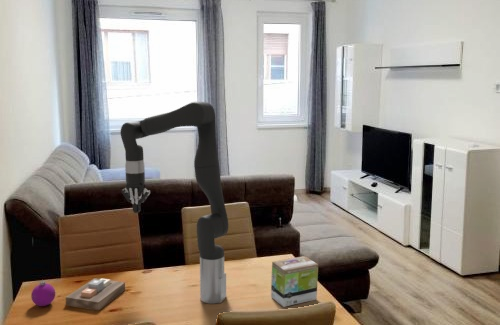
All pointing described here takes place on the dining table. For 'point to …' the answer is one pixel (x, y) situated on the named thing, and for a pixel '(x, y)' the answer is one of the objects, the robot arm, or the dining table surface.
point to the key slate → (96, 285)
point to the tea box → (294, 281)
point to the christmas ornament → (43, 294)
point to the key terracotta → (89, 292)
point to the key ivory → (105, 282)
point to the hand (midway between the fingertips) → (136, 212)
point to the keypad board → (97, 300)
